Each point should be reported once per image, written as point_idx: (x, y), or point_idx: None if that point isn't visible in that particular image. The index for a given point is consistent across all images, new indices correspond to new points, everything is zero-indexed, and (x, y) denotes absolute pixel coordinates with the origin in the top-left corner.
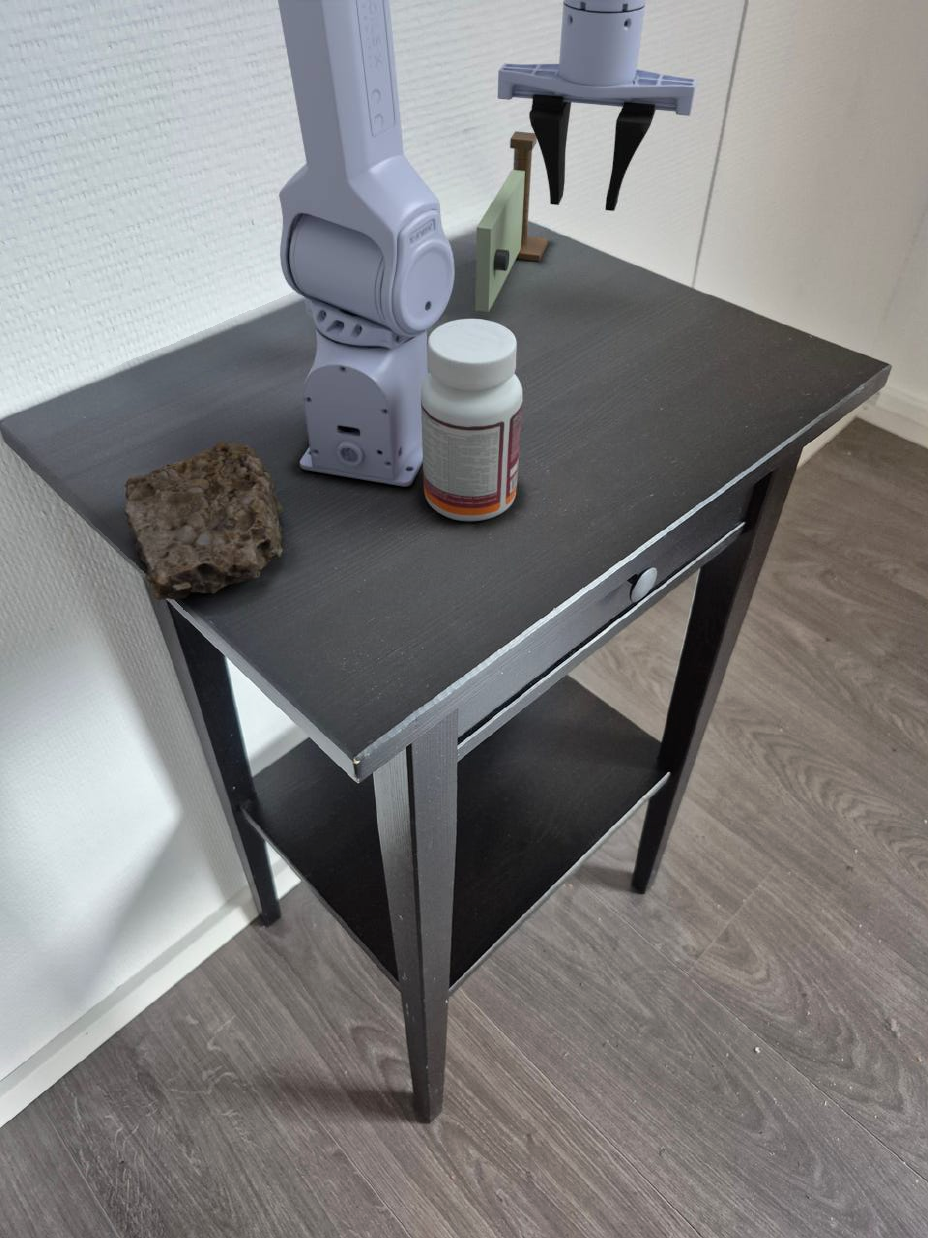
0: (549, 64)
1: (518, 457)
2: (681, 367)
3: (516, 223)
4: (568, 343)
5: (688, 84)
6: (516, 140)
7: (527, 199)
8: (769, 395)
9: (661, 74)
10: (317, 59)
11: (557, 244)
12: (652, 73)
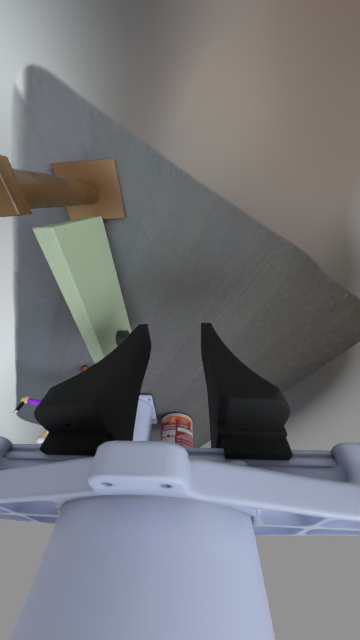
0: (12, 502)
1: (192, 437)
2: (257, 343)
3: (94, 258)
4: (188, 337)
5: None
6: None
7: (72, 198)
8: (304, 355)
9: (329, 518)
10: None
11: (126, 154)
12: (304, 512)
